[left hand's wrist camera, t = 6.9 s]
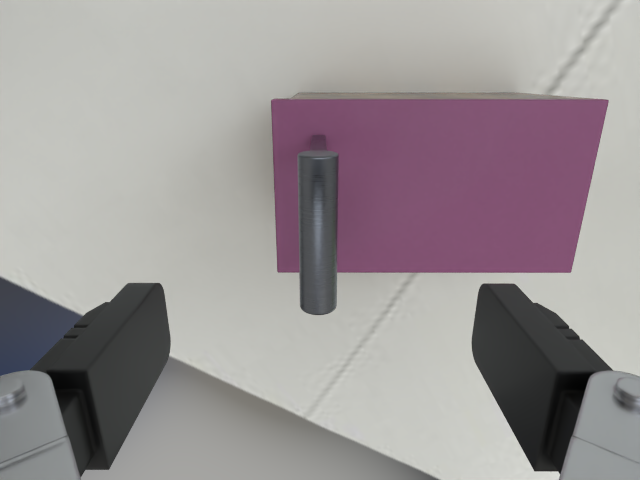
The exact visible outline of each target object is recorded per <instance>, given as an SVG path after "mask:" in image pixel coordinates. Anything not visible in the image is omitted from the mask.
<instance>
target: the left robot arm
mask: <svg viewBox="0 0 640 480" xmlns="http://www.w3.org/2000/svg"><path fill="white" fill-rule="evenodd" d="M472 352H473V357H474V360H475V363H476V365H477V367H478V368H479V370H480V372H481V374H482V376H483V378H484V379H485V381H486V383H487V385H488V387H489V389H490V390H491V392H492V394H493V396H494V398H495V400H496V401H497V403H498V405H499V407H500V409H501V411H502V412H503V414H504V416H505V418H506V420H507V422H508V423H509V425H510V427H511V429H512V431H513V433H514V434H515V436H516V438H517V440H518V442H519V444H520V445H521V447H522V449H523V451H524V453H525V455H526V456H527V458H528V460H529V462H530V464H531V466H532V467H533V469H534V471H559V473H560V478H559V480H640V376H637V375H634V374H630V373H626V372H621V371H613V370H612V369H611V368H610V367H609V366H608V365H607V364H606V363H605V362H604V361H603V360H602V359H601V358H600V357H599V356H598V355H597V354H596V353H595V352H594V351H593V350H592V349H591V348H590V347H589V346H588V345H587V344H586V343H585V342H584V341H583V340H580V338H579V336H578V335H577V334H576V333H575V332H574V331H573V330H572V329H569V326H568V325H567V324H566V323H565V322H564V321H563V320H562V319H561V318H560V317H559V316H558V315H557V314H556V313H554V312H552V311H551V310H549V309H547V308H545V307H543V306H542V305H540V304H538V303H533V302H532V301H531V300H530V299H529V298H528V297H527V296H526V295H525V294H524V293H523V292H522V291H521V290H520V289H519V288H518V287H517V286H516V285H515V284H482V285H481V287H480V289H479V292H478V299H477V306H476V313H475V320H474V327H473V334H472ZM169 353H170V331H169V324H168V317H167V310H166V302H165V295H164V290H163V287H162V285H161V284H160V283H128V284H127V285H125V287H124V288H123V289H122V290H121V291H120V292H119V293H118V294H117V295H116V296H115V297H114V298H113V299H112V300H111V302H105V303H103V304H102V305H100V306H98V307H96V308H94V309H93V310H91V311H89V312H87V313H86V314H85V315H84V316H83V317H82V318H81V319H80V320H79V321H78V322H77V323H76V324H75V325H74V328H71V329H70V330H69V331H68V332H67V333H66V334H65V335H64V338H63V339H60V340H59V341H58V342H57V343H56V344H55V345H54V346H53V347H52V348H51V349H50V350H49V351H48V352H47V353H46V354H45V355H44V356H43V357H42V358H41V359H40V360H39V361H38V362H37V363H36V364H35V365H34V366H33V367H32V368H31V369H30V370H29V371H19V372H14V373H10V374H7V375H3V376H0V480H81V476H82V474H83V473H84V471H85V470H109V468H110V467H111V465H112V463H113V461H114V459H115V457H116V455H117V454H118V452H119V450H120V448H121V446H122V444H123V442H124V441H125V439H126V437H127V435H128V433H129V431H130V429H131V428H132V426H133V424H134V422H135V420H136V418H137V417H138V415H139V413H140V411H141V409H142V407H143V405H144V403H145V402H146V400H147V398H148V396H149V394H150V392H151V391H152V389H153V387H154V385H155V383H156V381H157V379H158V377H159V376H160V374H161V372H162V370H163V368H164V366H165V365H166V363H167V360H168V357H169Z"/></svg>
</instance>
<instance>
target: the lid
mask: <svg viewBox="0 0 640 480" xmlns="http://www.w3.org/2000/svg"><path fill="white" fill-rule="evenodd" d="M607 106H608V100H604V99H273V100H271V109H272V136H273V163H274V190H275V217H276V244H277V271H278V272H300V307H301V309H302V310H303V311H304V312H306V313H309V314H313V315H324V314H328V313H330V312H332V311H334V310H335V308H336V305H337V272H472V273H570V272H571V270H572V265H573V261H574V256H575V251H576V247H577V242H578V238H579V233H580V229H581V224H582V220H583V215H584V210H585V206H586V201H587V197H588V192H589V188H590V183H591V179H592V174H593V170H594V165H595V160H596V156H597V151H598V147H599V142H600V138H601V133H602V129H603V124H604V119H605V115H606V110H607Z"/></svg>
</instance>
